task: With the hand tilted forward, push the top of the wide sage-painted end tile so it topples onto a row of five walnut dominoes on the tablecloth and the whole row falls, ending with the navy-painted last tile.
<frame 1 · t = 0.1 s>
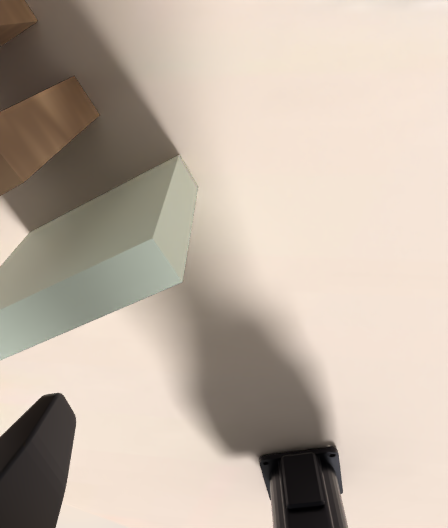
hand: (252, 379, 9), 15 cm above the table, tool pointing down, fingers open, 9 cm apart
domino 1: (46, 120, 21), on the table
end tile: (111, 210, 23), on the table
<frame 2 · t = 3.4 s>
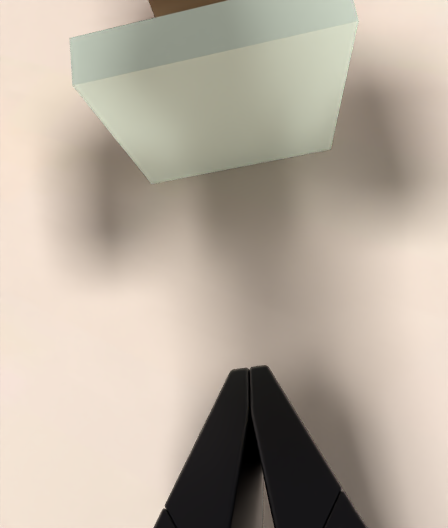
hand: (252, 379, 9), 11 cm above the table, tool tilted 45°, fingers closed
domino 1: (223, 65, 24), on the table
end tile: (236, 151, 23), on the table
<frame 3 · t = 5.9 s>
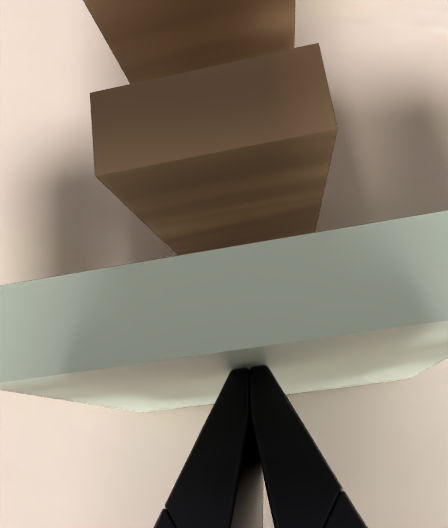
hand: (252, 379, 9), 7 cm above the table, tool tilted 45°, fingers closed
domino 1: (246, 234, 17), on the table
domino 2: (231, 137, 18), on the table
end tile: (266, 369, 16), on the table, tilted 10°
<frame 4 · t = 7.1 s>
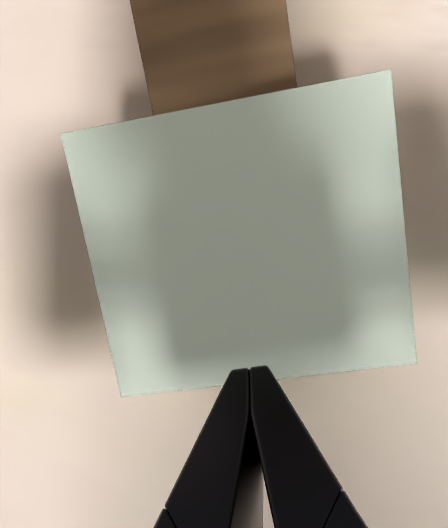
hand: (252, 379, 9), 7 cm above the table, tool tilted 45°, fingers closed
domino 1: (245, 223, 16), point 1 cm above the table, tilted 64°, touching domino 2, end tile
end tile: (262, 367, 15), point 1 cm above the table, tilted 66°, touching domino 1
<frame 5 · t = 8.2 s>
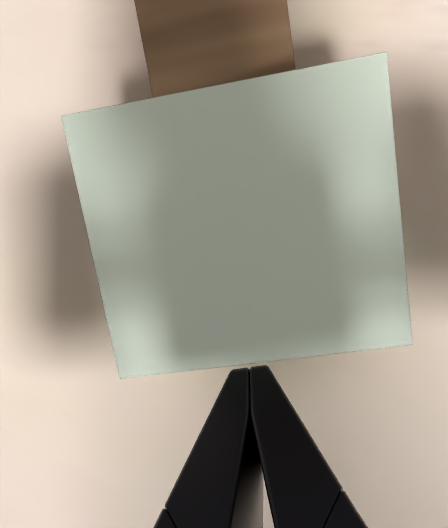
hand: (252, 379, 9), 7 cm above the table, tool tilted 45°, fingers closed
domino 1: (244, 209, 16), point 1 cm above the table, tilted 65°, touching domino 2, end tile
end tile: (260, 350, 15), point 1 cm above the table, tilted 66°, touching domino 1
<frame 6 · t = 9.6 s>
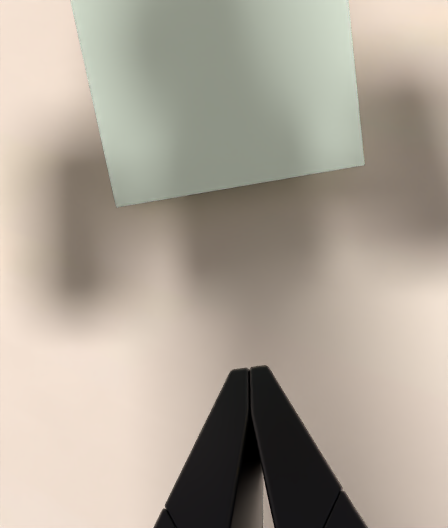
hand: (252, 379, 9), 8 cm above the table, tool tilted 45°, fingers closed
end tile: (237, 186, 18), point 1 cm above the table, tilted 67°, touching domino 1
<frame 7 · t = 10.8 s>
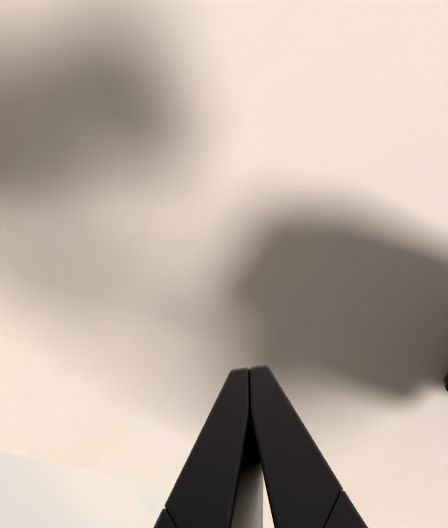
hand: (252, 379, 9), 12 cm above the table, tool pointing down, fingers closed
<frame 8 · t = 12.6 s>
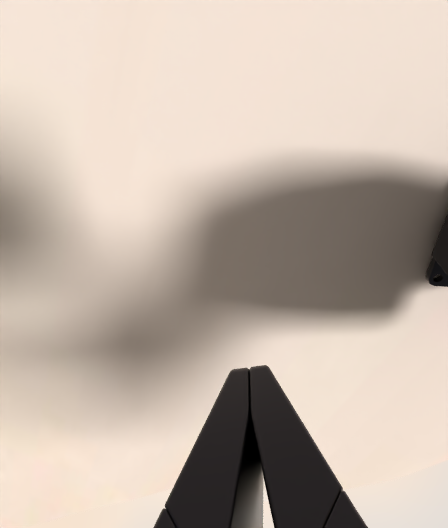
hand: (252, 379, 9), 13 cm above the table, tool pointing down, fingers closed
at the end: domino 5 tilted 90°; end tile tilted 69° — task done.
